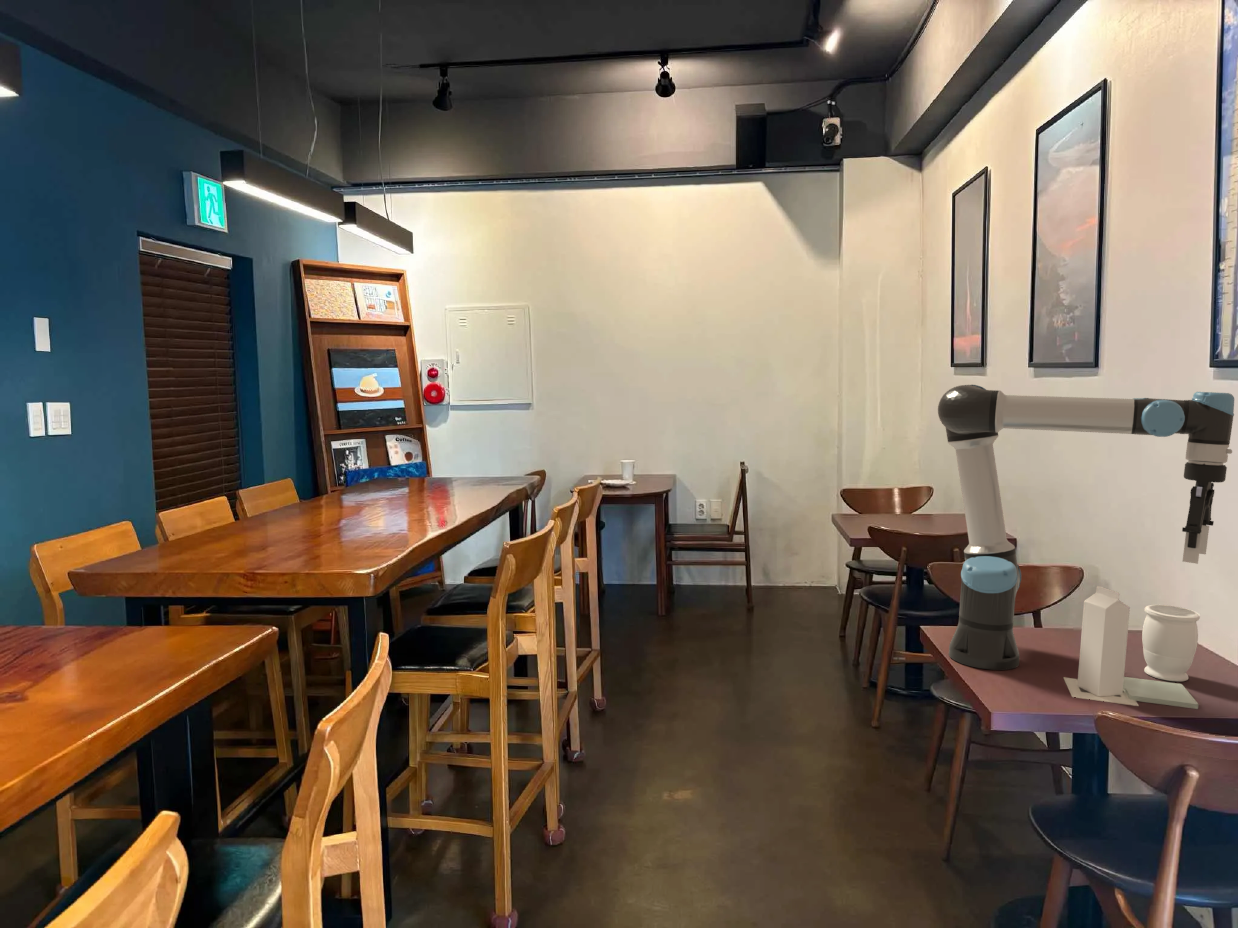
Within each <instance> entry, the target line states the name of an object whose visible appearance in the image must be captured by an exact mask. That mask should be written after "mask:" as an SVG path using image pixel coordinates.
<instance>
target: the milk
mask: <svg viewBox="0 0 1238 928" xmlns="http://www.w3.org/2000/svg"><path fill="white" fill-rule="evenodd" d="M1095 591H1096V592H1095V593H1093V594H1092V595H1090V596H1089V597H1087V598H1086V599H1085V600H1084V601H1083V611H1082V620H1081V621H1082V624H1081V635H1080V636H1081V637H1080V647H1079V648H1080V649H1079V660H1078V672H1077V679H1078V683H1077V686H1078V687H1080V688H1082V689H1084V690H1086V691H1088V692H1090V693H1092V694H1094V695H1096V696H1099V697H1100V696H1113V695H1122V693H1123V681H1124V677H1125V671H1126V669H1125V668H1126V657H1127V647H1128V646H1127V644H1128V634H1129V633H1128V632H1129V624H1130V623H1129V621H1130V611H1131V610H1130V609H1131V607H1130V606H1128V605H1127V604H1126V603H1124V602H1122V600H1120V593H1119V592H1118V591H1115V590H1112V589H1109V588H1106V587H1103V586H1099V585H1097V586H1096V589H1095Z"/></svg>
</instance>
